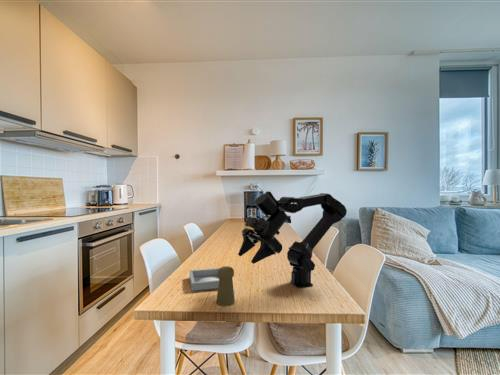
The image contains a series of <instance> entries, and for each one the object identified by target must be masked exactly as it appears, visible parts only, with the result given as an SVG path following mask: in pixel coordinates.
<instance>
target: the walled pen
mask: <svg viewBox="0 0 500 375" xmlns="http://www.w3.org/2000/svg"><path fill="white" fill-rule="evenodd" d="M220 268H221V267H217V268H216V267H215V268H214V267H213V268H205V269H204V268H203V269H191V270H189V282H190V289H191V293H195V292H196V293H197V292H205V291H215V290H216V291H218V286H219V279H220V278H219V277H218V270H219V269H220Z"/></svg>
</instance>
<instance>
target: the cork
mask: <svg viewBox="0 0 500 375" xmlns="http://www.w3.org/2000/svg"><path fill="white" fill-rule="evenodd" d="M219 268H220V269H219V270H218V277H219V278H220V279H219V286H218V289H217V293H216V294H217V295H216V301H215V303H216V304H217V305H218V306H221V307H229V306H232V305H234V304H235V303H236V299H235V290H234V282H233V277H234V276H235V269H234V268H233V267H231V266H226V265H225V266H222V267H219Z"/></svg>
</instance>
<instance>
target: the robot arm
mask: <svg viewBox="0 0 500 375" xmlns="http://www.w3.org/2000/svg"><path fill="white" fill-rule="evenodd" d="M254 204H255V206H256V207H257V208H258V209H259V210H260V211H261V212H262V214H263V215H264V216H268V217H267V218H266V219H265V218H264V217H258V218H255V217H251V216H248V217H247V220H246V221H245V224H244V225H245V226H246V227H247V228H244V229H242V231H241V235H242V239H243V241H242V243H241V247H240V249H239V252H238V253H237V256H239V257H241V256H244V255H245V254H246V253H247V252H249V251H250V250H252V249H253V248H254V247H255V246H256V245H257V243H260V246H259V248H258V249H257V251H256V253H255V254H254V255H253V258H252V259H251V261H250V262H251V263H252V264H253V265H254V264H256V263H258V262H260V261H262V260H264V259H266V258H268V257H269V258H270V257H271V256H273V255H276V254H278V255H279V254H281V252H282V250H283V245H282V243H281V242H280V241H279V240H278V239H277V238H276V237H275V235H277V236H279V235H280V231H279V230H281V228H282V227H283V226H284V224H285V223H286V224H292V218H291V215H288V214H286V213H289V214H296V213H298V212H301V211H302V210H303V209H305V208H309V207H313V206H317V205H319V206H320V207H321V209H322V217H321V218H320V220H319V221H317V223H316V224H315V225H314V226H313V228H312V229H311V230H310V231H309V232H308V234H307V235H306V236H305V237H304V238H303V240H302V241H300V242H299V241H294V242H293V243H292V245H291V246H289V247H288V250H287V253H286V256H287V257H286V258H287V261H288V262H289V265H290V266H292V270H291V273H290V274H291V277H290V278H291V279H290V282H291V283H292V284H293V285H294V286H295V287H297V288H305V287H312V286H313V287H314V284H313V283H312V271H314V270H315V267H316V263H314V261H313V260H312V257H313V250H314V249H315V247H316V246H317V245H318V243H319V242H321V240H322V239H323V237H324V236H325V234H327V232H328V231H329V230H330V228H331V227H332V226H333V225H334V224H337V223H338V222H339V223H340V222H341V221H342V220H343V219H345V217H346V215H347V212H348V211H347V210H348V209H347V208H346V206H345V204H343V203H342V202H341V201H339V200H338V199H336V198H335V197H334V196H333V195H331V194H330V193H327V192H326V193H323V192H322V193H319V194H312V195H306V196H301V197H300V196H299V197H294V196H282V197H280V198H279V199H278V200H277V199H276V197H275V196H274V195H273V194H272V192H271V191H266V192H264V193H263V194H261V195H260V196H258V197H256V199H255V201H254ZM248 227H249V228H248Z"/></svg>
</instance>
